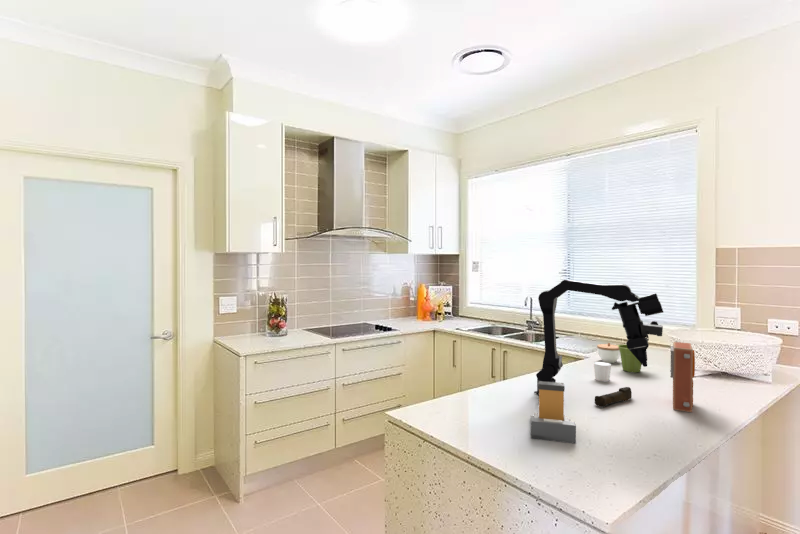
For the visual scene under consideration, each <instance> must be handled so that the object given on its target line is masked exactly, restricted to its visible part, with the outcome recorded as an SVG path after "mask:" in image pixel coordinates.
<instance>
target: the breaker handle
mask: <svg viewBox="0 0 800 534" xmlns="http://www.w3.org/2000/svg"><path fill="white" fill-rule="evenodd" d="M538 387H539V395H538V416H539V418H542V419H553V420H562V421H564V414H565V413H564V412H565V411H564V410H565V407H564V405H565V403H564V401H565V396H564V395H565V384H564V382H543V381H538Z"/></svg>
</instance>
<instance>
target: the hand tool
mask: <svg viewBox="0 0 800 534" xmlns="http://www.w3.org/2000/svg"><path fill="white" fill-rule="evenodd" d="M632 394H633V393H632V388H631V387H629V386H625V387H619V389H618V391H615V392H610V393H607V394H601V395H595V396H594V404H595V406H596V405H597V406H596V407H599V408H605V407H607V406H608V405H611V404H615V403H618V402H628V401H630V400H631V398H632V396H633V395H632Z"/></svg>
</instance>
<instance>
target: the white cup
mask: <svg viewBox="0 0 800 534" xmlns="http://www.w3.org/2000/svg"><path fill="white" fill-rule="evenodd" d="M593 369H594V379H595V380H596V381H598V382H609V381H610V379H611V370H612V363H608V362H603V361H594V362H593Z"/></svg>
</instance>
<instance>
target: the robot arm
mask: <svg viewBox="0 0 800 534" xmlns="http://www.w3.org/2000/svg"><path fill="white" fill-rule="evenodd" d="M567 291H569V292H571V291H572V292H577V293H586V294H592V295H599V296H602V297H605V298H608V299H612V300H615V302H614V303H613V306H612V307H611V310H612V311H614V310H618V313H619V316H620V319H621V322H622V327H623V328H624V332H625V334H626V339H627V341H626V343H625V345H627V348H628V349H629V351H631V352H632V354H633V355H634V356H635V357H636V358H637V359H638V360H639V362H640V363H641V364H642V365H641V366H642V367H648V352H647V350H648V348H649V339H650V338H649V335H650V336H657V337H663V332H664V331H663V328H664V327H663V325H662V324H659V323H658V321H656V320H652V321H651V322H650V323H644V321H643V319H641V317H640V314H641V315H644V316H645V317H648V316H654V315H659V314H661V313H664V309H663V306H662V303H661V301H660V300H659V297H658V294H657V293H655V292H654V293H651V294H648V295H645V296H639V295H638V294H635V293H634V292H632V289H631V288H630V286H629V285H627V284H624V283H618V284H615V283H613V284H602V283H592V282H586V281H585V282H584V281H578V280H571V279H567V278H566V279H563V280H562V281H560V283H558V284H557V285H555V286H554V287H552V288H551V289H549V290H545V291H541V292H540V293H539V295H538V298H537V299H538V303H539V307H540V311H541V313H542V317H543V335H544V336H543V338H544V355H543V360H542V367H541V369H540V370H539V371H538V372H537V373H536V374H535V376H536V379H537V380H536V384H537V385H536V387H537V388H536V390H535V391H533V393H534V394H535V395H538V396H539V387H538V381H543V382H556V381H557V380H556V378H555V376H557V375H558V374H559V373H560V371H561V370H562V367H563V366H564V365H563V355H562V354H561V355H559V353H558V350H557V336H556V335H557V334H556V318H555V317H556V316H555V315H556V314H555V313H556V309H557V303H558V298H559V297H561V296H562V295H563V294H565V293H567ZM616 301H618V302H620V303H618V302H616ZM628 302H631V303H628ZM638 310H639V311H638Z"/></svg>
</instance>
